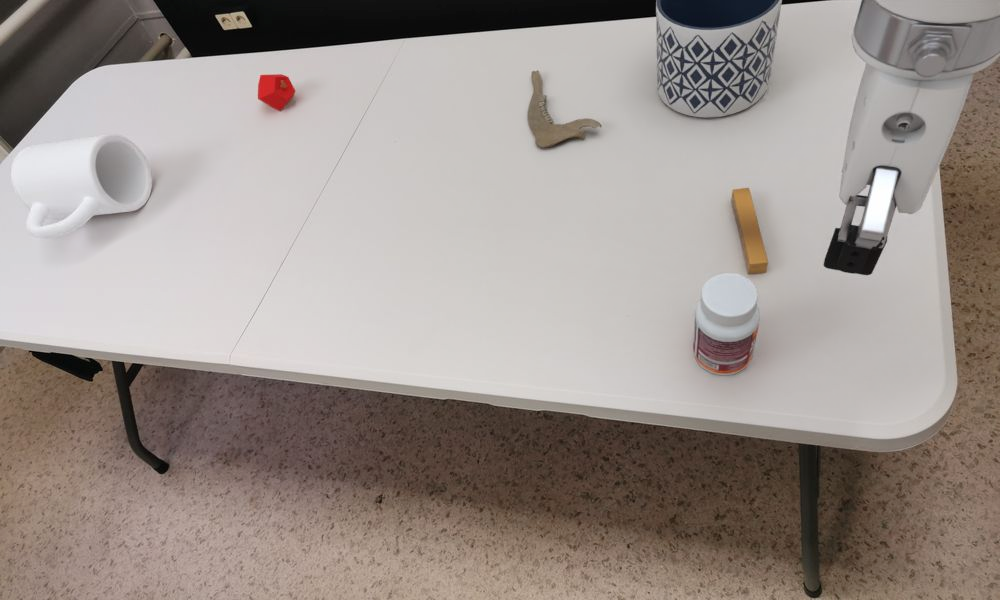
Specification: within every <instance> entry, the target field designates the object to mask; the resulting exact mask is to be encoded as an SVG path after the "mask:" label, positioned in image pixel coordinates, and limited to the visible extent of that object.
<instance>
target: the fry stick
mask: <svg viewBox="0 0 1000 600" xmlns="http://www.w3.org/2000/svg"><path fill="white" fill-rule="evenodd" d="M731 192H732V193H731V197H730V198H731V199H730V200H731V206H732V211H733V214H734V218H735V223H736V227H737V230H738V236H739V241H740V245H741V249H742V254H743V258H744V261H745V266H746V271H747V273H748V275H754V274H763V273H767V268H768V265H769V260H768V256H767V253H766V249H765V248H766V247H765V245H764V244H765V243H764V241H763V237H762V233H761V229H760V225H759V221H758V218H757V213H756V210H755V206H754V202H753V198H752V193H751V191H750V188H749V187H742V188H734V189H732V191H731Z"/></svg>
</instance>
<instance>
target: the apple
mask: <svg viewBox="0 0 1000 600" xmlns="http://www.w3.org/2000/svg"><path fill="white" fill-rule="evenodd" d="M295 93H296V89H295V87H294V86H293V83H292V81H291V79H290V77H289V76H287V75H284V74H282V73H281V74H280V73H279V74H276V73H275V74H260V76H259V79H258V84H257V100H259V101H260V102H262V103H263V104H265V105H267V106H268V107H270V108H272V109H274V110H276V111H278V112H281V111H282V110H283V109H284V108H285V107H286V106H287V105H288V103H289V102H290V101H291V100H292V99H293V98H294V97H295Z"/></svg>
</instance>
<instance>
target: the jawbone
mask: <svg viewBox="0 0 1000 600" xmlns="http://www.w3.org/2000/svg"><path fill="white" fill-rule="evenodd" d="M531 81H532V87H533V91H532V94H531V95H532V96H531V98H530V101H529V104H528V108H527V122H528V126H529V128H530V130H531V132H532V133H533V135H534V137H535V140H534V142H535V145H536V146H537V147H540V148H550V147H553V146H554V145H556V144H558V143H560V142H564V141H565V140H567V139H570V138H571V139H572V138H579V139H580V140H582V141H583V140H585V137H586V136H585V135H586V134H585V130H584V129H583V128H586V127H587V128H588V127H589V128H592V129H594V130H596V129H597V128H599V127H600V128H602V124H601V122H599V121H598V120H596V119H593V118H578V119H575V120H572V121H570V122H567V123H562V124H561V123H554V120H553V118H552V116H551V114H550V113H549V111H548V108H547V107H546V106H547V97H548V96H547V94H543V90H542V89H543V87H542V86H543V84H542V83H543V79H542V76H541V73H540V71H539V70H538V69H537V70H532V71H531Z"/></svg>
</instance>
